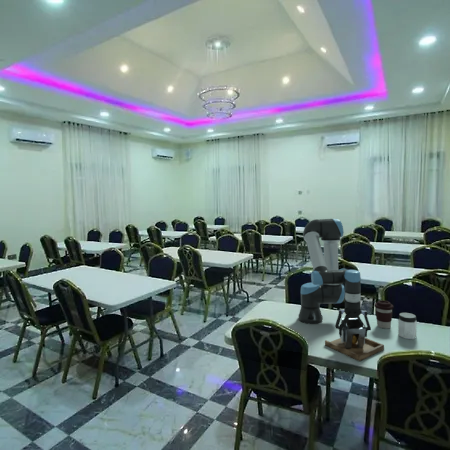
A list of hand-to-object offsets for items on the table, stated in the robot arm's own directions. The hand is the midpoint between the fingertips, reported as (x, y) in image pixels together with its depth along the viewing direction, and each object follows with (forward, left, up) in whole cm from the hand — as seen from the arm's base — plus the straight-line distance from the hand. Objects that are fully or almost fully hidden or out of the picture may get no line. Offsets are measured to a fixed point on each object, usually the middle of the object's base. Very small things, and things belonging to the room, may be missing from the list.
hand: (352, 341), depth 167 cm
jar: (+9, +35, -3) cm, 37 cm away
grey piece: (-2, +1, -1) cm, 3 cm away
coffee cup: (-6, +37, -3) cm, 38 cm away
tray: (0, +1, -3) cm, 3 cm away
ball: (-2, +3, 0) cm, 4 cm away
